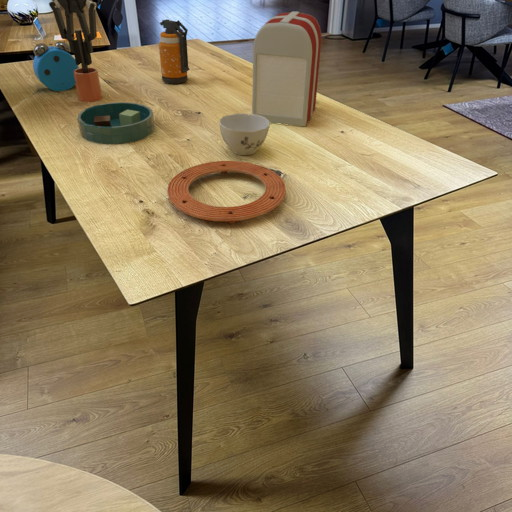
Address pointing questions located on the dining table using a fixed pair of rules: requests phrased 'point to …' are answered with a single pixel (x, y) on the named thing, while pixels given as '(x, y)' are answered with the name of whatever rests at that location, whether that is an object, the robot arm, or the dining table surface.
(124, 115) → the sage block
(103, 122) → the walnut block
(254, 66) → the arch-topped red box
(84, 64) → the stick
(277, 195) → the ring
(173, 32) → the canister
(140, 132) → the bowl
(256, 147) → the teacup
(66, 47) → the alarm clock
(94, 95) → the holder
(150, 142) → the dining table surface
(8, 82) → the dining table surface
